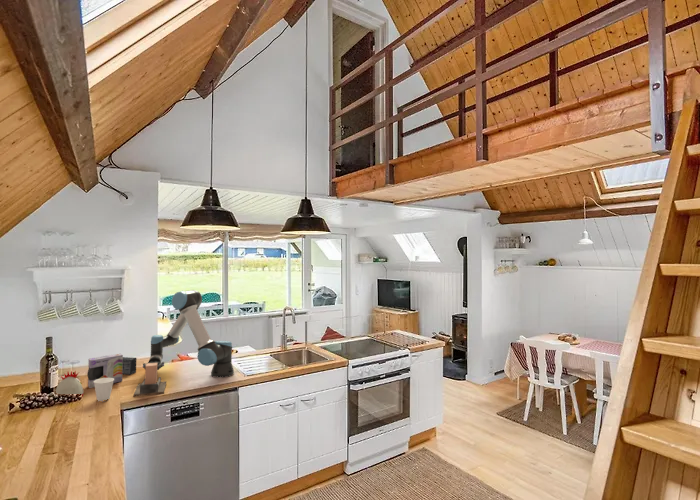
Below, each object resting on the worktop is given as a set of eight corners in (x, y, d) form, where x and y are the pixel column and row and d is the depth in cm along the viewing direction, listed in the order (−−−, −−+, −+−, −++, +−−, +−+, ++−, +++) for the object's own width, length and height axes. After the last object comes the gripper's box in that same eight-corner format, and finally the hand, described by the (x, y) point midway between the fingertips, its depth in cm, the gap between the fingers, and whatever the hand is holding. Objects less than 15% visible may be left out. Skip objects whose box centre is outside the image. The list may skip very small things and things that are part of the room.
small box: (136, 372, 271) (137, 357, 271) (130, 375, 264) (131, 359, 265) (122, 371, 272) (123, 356, 272) (116, 374, 265) (116, 359, 266)
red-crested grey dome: (83, 399, 221) (84, 372, 221) (52, 403, 213) (53, 376, 213) (83, 391, 232) (84, 366, 232) (54, 395, 224) (55, 369, 225)
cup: (117, 398, 223) (118, 378, 223) (101, 404, 214) (102, 384, 214) (104, 395, 226) (105, 376, 227) (88, 401, 217) (89, 381, 217)
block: (156, 385, 242) (157, 362, 242) (155, 388, 237) (156, 365, 237) (145, 386, 240) (146, 363, 240) (144, 389, 234) (145, 366, 235)
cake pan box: (87, 388, 237) (88, 359, 237) (85, 386, 240) (86, 358, 240) (122, 382, 251) (123, 354, 251) (120, 380, 254) (121, 353, 254)
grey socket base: (166, 383, 251) (166, 373, 251) (163, 393, 232) (164, 383, 232) (138, 385, 245) (138, 375, 245) (133, 396, 226) (133, 386, 226)
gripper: (165, 366, 266) (162, 377, 244) (143, 368, 261) (138, 378, 239) (165, 355, 266) (162, 365, 244) (144, 356, 261) (138, 366, 239)
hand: (150, 371), depth 241 cm, fingers closed
